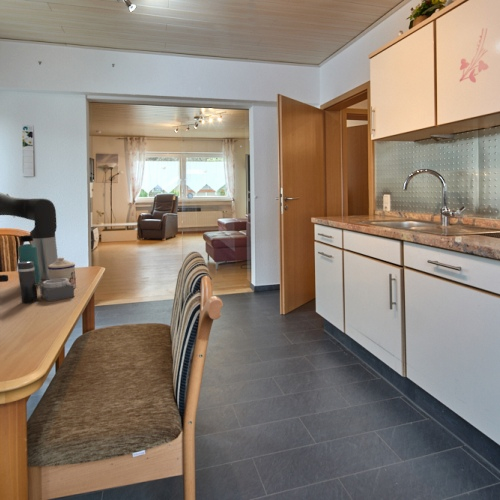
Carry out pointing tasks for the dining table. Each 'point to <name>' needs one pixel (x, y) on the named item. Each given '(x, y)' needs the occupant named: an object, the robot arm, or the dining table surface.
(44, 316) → the dining table surface
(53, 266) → the teacup with lid
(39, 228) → the robot arm
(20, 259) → the beverage bottle
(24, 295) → the lens
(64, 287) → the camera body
